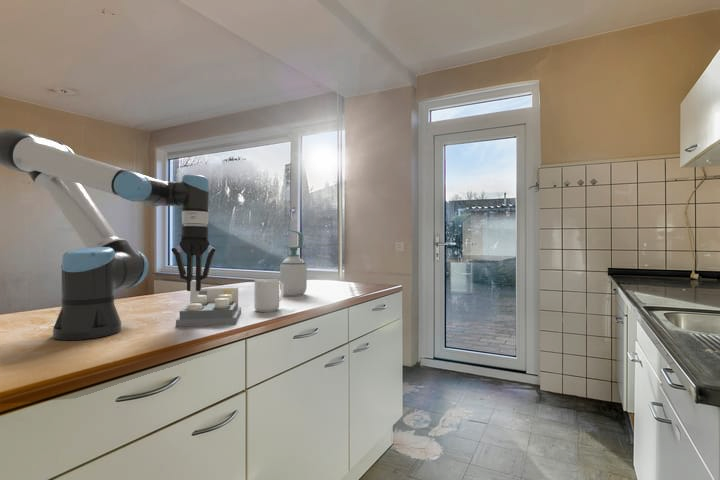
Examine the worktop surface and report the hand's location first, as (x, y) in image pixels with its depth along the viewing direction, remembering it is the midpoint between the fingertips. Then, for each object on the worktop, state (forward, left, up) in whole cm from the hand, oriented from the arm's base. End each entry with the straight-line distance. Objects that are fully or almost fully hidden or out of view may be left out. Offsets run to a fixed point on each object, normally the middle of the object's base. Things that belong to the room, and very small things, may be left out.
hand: (193, 301), depth 116 cm
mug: (+23, +19, -7) cm, 30 cm away
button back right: (+8, +8, -2) cm, 12 cm away
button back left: (0, +8, -2) cm, 8 cm away
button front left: (0, 0, -4) cm, 4 cm away
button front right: (+8, 0, -2) cm, 9 cm away
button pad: (+4, +5, -7) cm, 10 cm away
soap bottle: (+33, +55, -7) cm, 64 cm away
